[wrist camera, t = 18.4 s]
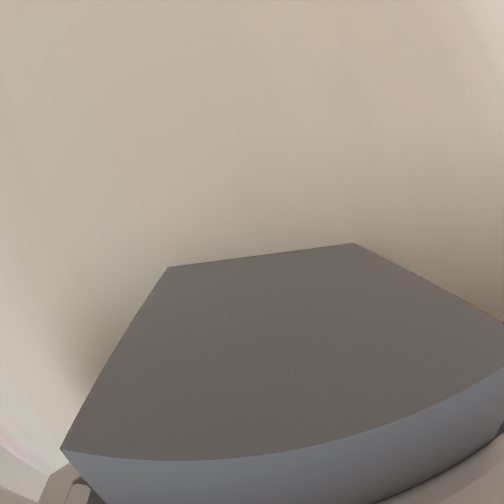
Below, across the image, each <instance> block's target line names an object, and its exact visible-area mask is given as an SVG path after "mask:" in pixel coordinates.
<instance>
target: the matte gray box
mask: <svg viewBox="0 0 504 504" xmlns="http://www.w3.org/2000/svg"><path fill="white" fill-rule="evenodd" d="M503 420H504V323H502V322H501V321H499V320H497V319H495V318H494V317H492V316H490V315H489V314H487V313H485V312H483V311H482V310H480V309H478V308H476V307H475V306H473V305H471V304H469V303H468V302H466V301H464V300H462V299H460V298H459V297H457V296H455V295H453V294H451V293H450V292H448V291H446V290H444V289H442V288H440V287H438V286H437V285H435V284H433V283H431V282H429V281H427V280H425V279H423V278H422V277H420V276H418V275H416V274H414V273H412V272H410V271H408V270H406V269H404V268H402V267H400V266H398V265H396V264H394V263H392V262H390V261H388V260H386V259H384V258H382V257H380V256H378V255H376V254H374V253H372V252H370V251H368V250H366V249H364V248H362V247H360V246H358V245H356V244H354V243H351V244H344V245H336V246H329V247H321V248H314V249H306V250H299V251H291V252H284V253H276V254H269V255H261V256H253V257H246V258H238V259H230V260H223V261H215V262H207V263H200V264H192V265H184V266H176V267H169V268H167V269H166V271H165V272H164V274H163V275H162V276H161V278H160V279H159V281H158V282H157V284H156V285H155V287H154V288H153V290H152V291H151V293H150V294H149V296H148V298H147V299H146V301H145V302H144V304H143V305H142V307H141V308H140V310H139V311H138V313H137V315H136V316H135V318H134V319H133V321H132V322H131V324H130V326H129V327H128V329H127V330H126V332H125V334H124V335H123V337H122V338H121V340H120V342H119V343H118V345H117V347H116V348H115V350H114V352H113V353H112V355H111V357H110V358H109V360H108V362H107V363H106V365H105V367H104V368H103V370H102V372H101V373H100V375H99V377H98V379H97V380H96V382H95V384H94V386H93V387H92V389H91V391H90V393H89V394H88V396H87V398H86V400H85V402H84V403H83V405H82V407H81V409H80V411H79V413H78V414H77V416H76V418H75V420H74V422H73V424H72V426H71V428H70V430H69V431H68V433H67V435H66V437H65V439H64V441H63V443H62V445H61V447H60V450H61V451H62V452H63V454H64V455H65V456H66V458H67V459H68V460H69V462H70V463H71V464H72V465H73V467H74V468H75V469H76V470H77V472H78V473H79V474H80V475H81V476H82V478H83V479H84V480H85V481H86V482H87V483H88V484H89V486H90V487H91V488H92V489H93V490H94V491H95V492H96V493H97V494H98V495H99V496H100V497H101V499H102V500H103V501H104V502H105V503H106V504H375V503H378V502H380V501H383V500H385V499H388V498H390V497H393V496H395V495H398V494H400V493H402V492H405V491H407V490H409V489H411V488H413V487H415V486H418V485H420V484H422V483H424V482H426V481H428V480H430V479H432V478H433V477H435V476H437V475H439V474H441V473H443V472H445V471H446V470H448V469H450V468H452V467H453V466H455V465H457V464H458V463H460V462H462V461H463V460H465V459H466V458H468V457H470V456H471V455H473V454H474V453H476V452H477V451H479V450H480V449H482V448H483V447H484V446H486V445H487V444H489V443H490V442H491V441H492V440H493V438H494V436H495V435H496V433H497V431H498V430H499V428H500V426H501V424H502V422H503Z"/></svg>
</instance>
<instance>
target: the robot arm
mask: <svg viewBox="0 0 504 504" xmlns="http://www.w3.org/2000/svg"><path fill="white" fill-rule="evenodd" d="M0 504H106V503H105V502H104V501H103V500H102V499H101V497H100V496H99V495H98V494H97V493H96V492H95V491H94V490H93V489H92V488H91V487H90V486H89V484H88V483H87V482H86V481H85V480H84V479H83V478H82V476H81V475H80V474H79V473H78V472H77V470H76V469H75V468H74V467H73V465H72V464H71V463H68V464H67V465H65V466H64V467H62V468H61V469H59V470H58V471H56V472H55V473H53V474H51V475H50V477H49V479H48V481H47V484H46V486H45V488H44V490H43V493H42V495H41V497H40V499H39V502H36V501H33V500H31V499H29V498H26V497H24V496H22V495H19V494H17V493H15V492H13V491H11V490H8V489H6V488H4V487H2V486H0ZM375 504H504V420H503V422H502V424H501V426H500V428H499V430H498V431H497V433H496V435H495V436H494V438H493V440H492V441H491V442H490V443H489V444H487V445H486V446H484V447H483V448H482V449H480V450H479V451H477V452H476V453H474V454H473V455H471V456H470V457H468V458H466V459H465V460H463V461H462V462H460V463H458V464H457V465H455V466H453V467H452V468H450V469H448V470H446V471H445V472H443V473H441V474H439V475H437V476H435V477H433V478H432V479H430V480H428V481H426V482H424V483H422V484H420V485H418V486H415V487H413V488H411V489H409V490H407V491H405V492H402V493H400V494H398V495H395V496H393V497H390V498H388V499H385V500H383V501H380V502H378V503H375Z"/></svg>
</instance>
